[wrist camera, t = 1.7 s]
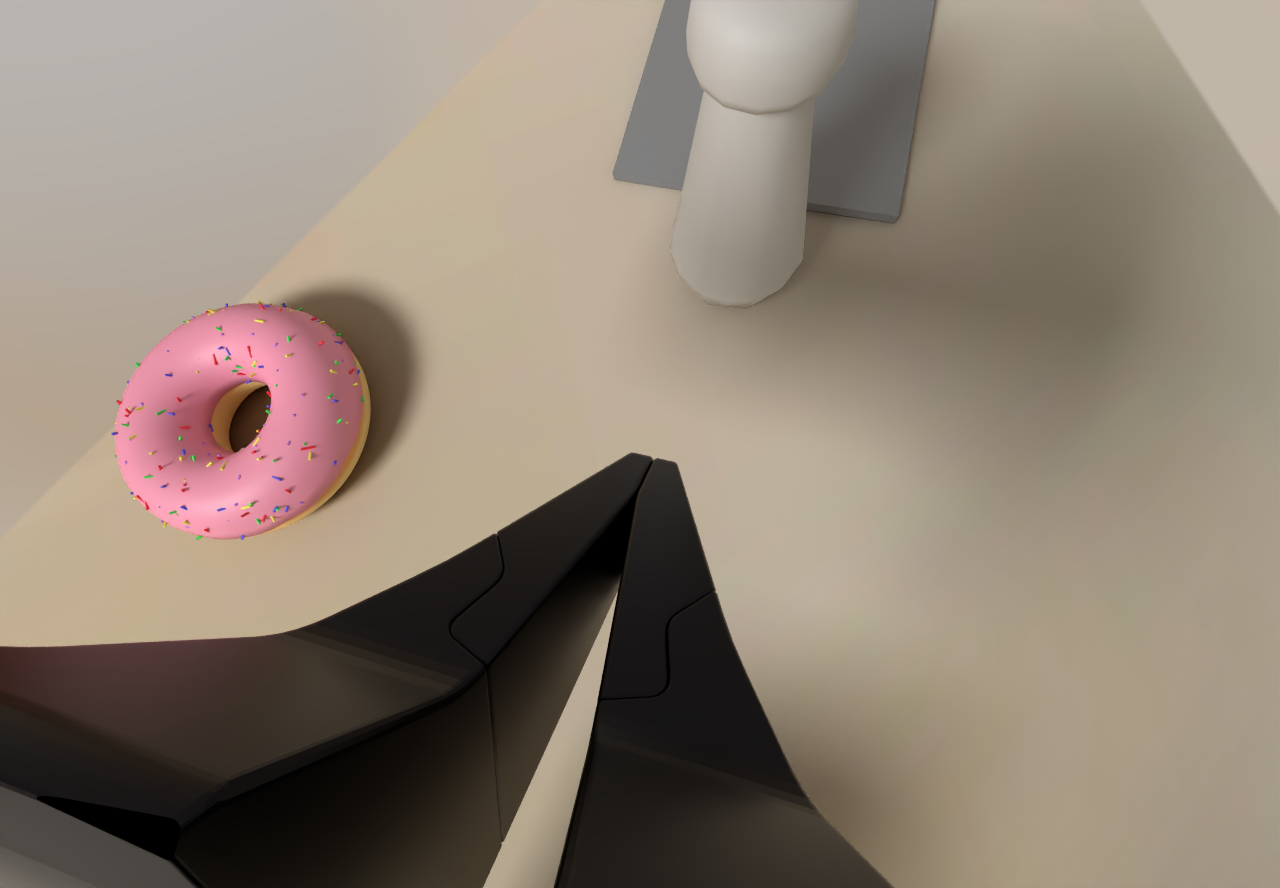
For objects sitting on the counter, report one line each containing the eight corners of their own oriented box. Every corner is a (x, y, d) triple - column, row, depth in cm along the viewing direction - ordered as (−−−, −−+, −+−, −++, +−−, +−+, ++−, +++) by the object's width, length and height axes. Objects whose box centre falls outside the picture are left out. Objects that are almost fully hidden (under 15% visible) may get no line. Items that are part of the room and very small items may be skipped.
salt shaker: (819, 272, 24) (963, -43, 12) (731, 350, 24) (782, 110, 11) (732, 197, 26) (777, -158, 13) (647, 270, 25) (608, -26, 12)
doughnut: (134, 464, 25) (30, 445, 21) (276, 290, 27) (203, 242, 23) (289, 588, 23) (205, 594, 19) (432, 391, 25) (383, 358, 21)
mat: (894, 223, 24) (898, 216, 24) (614, 179, 26) (613, 172, 26) (942, -61, 28) (947, -71, 28) (692, -81, 30) (692, -91, 29)
